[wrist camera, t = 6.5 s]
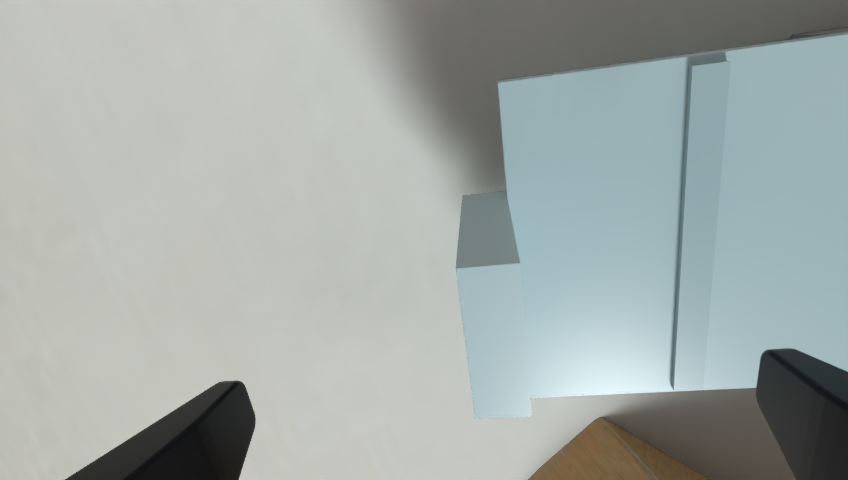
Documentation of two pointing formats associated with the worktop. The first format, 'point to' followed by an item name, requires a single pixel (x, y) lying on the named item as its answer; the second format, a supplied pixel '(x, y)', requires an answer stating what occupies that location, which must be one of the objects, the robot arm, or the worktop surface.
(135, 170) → the worktop surface
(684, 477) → the sandwich container
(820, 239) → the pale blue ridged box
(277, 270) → the worktop surface
